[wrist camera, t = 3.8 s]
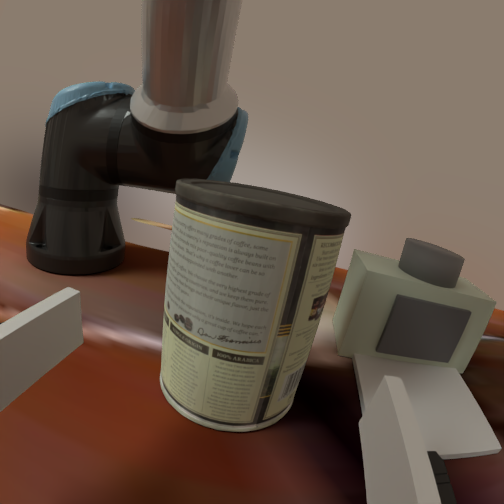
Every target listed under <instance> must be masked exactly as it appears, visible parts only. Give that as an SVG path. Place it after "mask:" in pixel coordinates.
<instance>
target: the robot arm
mask: <svg viewBox="0 0 504 504" xmlns="http://www.w3.org/2000/svg"><path fill="white" fill-rule="evenodd" d="M241 4H242V0H142V18H141V34H142V35H141V41H142V74H143V75H142V76H143V84H142V85H141V86H139V87H138V88H137V89H136V91H135V90H134V88H132V87H131V86H129V85H126V84H122V83H116V82H111V83H105V82H87V83H80V84H76V85H72V86H69V87H67V88H64V89H62V90H61V91H60V92H59V93H58V94H57V95H56V96H55V97H54V99H53V101H52V104H51V108H50V112H49V116H48V118H47V120H46V130H45V137H44V144H43V152H42V160H41V170H40V181H39V197H38V203H37V206H36V209H35V212H34V215H33V218H32V222H31V225H30V229H29V232H28V236H27V240H26V253H27V259H28V261H29V262H30V263H31V264H32V265H34V266H35V267H37V268H40V269H42V270H45V271H49V272H54V273H60V274H90V273H97V272H102V271H106V270H109V269H111V268H114V267H116V266H118V265H119V264H120V263H122V261H123V260H124V255H125V239H124V235H123V231H122V226H121V222H120V217H119V212H118V207H117V196H118V188H119V185H123V186H130V187H136V188H143V189H149V190H155V191H161V192H167V193H173V194H176V192H175V188H176V181H177V180H180V179H205V180H215V181H224V182H230V180H231V178H232V175H233V172H234V169H235V166H236V164H237V160H238V155H239V152H240V150H241V147H242V144H243V140H244V137H245V133H246V128H247V123H248V113H247V112H246V111H244V110H242V109H241V108H239V107H238V97H237V94H236V92H235V90H234V89H233V88H232V87H231V86H230V85H229V84H228V83H227V79H228V74H229V68H230V62H231V57H232V51H233V45H234V40H235V35H236V29H237V24H238V19H239V14H240V9H241ZM82 343H84V341H83V331H82V319H81V302H80V292H79V291H77V290H74V289H72V288H70V287H67V288H65V289H63V290H61V291H59V292H58V293H56V294H54V295H52V296H50V297H48V298H46V299H45V300H43V301H41V302H39V303H37V304H36V305H34V306H32V307H30V308H28V309H27V310H25V311H23V312H21V313H19V314H18V315H16V316H14V317H12V318H11V319H9V320H7V321H5V322H3V323H0V412H1V411H2V410H3V409H4V408H5V407H7V406H8V405H9V404H10V403H11V402H12V401H14V400H15V399H16V398H17V397H18V396H19V395H21V394H22V393H23V392H24V391H25V390H26V389H28V388H29V387H30V386H31V385H32V384H34V383H35V382H36V381H37V380H38V379H40V378H41V377H42V376H43V375H44V374H46V373H47V372H48V371H49V370H50V369H52V368H53V367H54V366H55V365H57V364H58V363H59V362H60V361H61V360H63V359H64V358H65V357H66V356H68V355H69V354H70V353H71V352H73V351H74V350H75V349H76V348H77V347H79V346H80V345H81V344H82ZM359 430H360V437H361V445H362V454H363V463H364V473H365V483H366V495H367V504H457V503H456V499H455V496H454V492H453V489H452V485H451V484H450V479H449V476H448V475H447V473H448V472H447V469H446V466H445V463H444V461H443V459H442V458H441V457H440V456H439V454H438V453H437V452H436V451H427V450H426V447H425V444H424V441H423V438H422V435H421V432H420V429H419V426H418V423H417V420H416V417H415V414H414V411H413V408H412V405H411V403H410V400H409V397H408V394H407V392H406V389H405V386H404V384H403V381H402V379H401V378H400V377H393V376H386V375H385V376H384V378H383V380H382V382H381V383H380V385H379V387H378V389H377V391H376V393H375V395H374V397H373V398H372V400H371V402H370V404H369V406H368V407H367V409H366V411H365V413H364V414H363V416H362V418H361V420H360V421H359Z"/></svg>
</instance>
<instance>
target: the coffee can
mask: <svg viewBox="0 0 504 504" xmlns="http://www.w3.org/2000/svg"><path fill="white" fill-rule="evenodd" d="M175 192H176V203H175V210H174V218H173V226H172V234H171V242H170V250H169V259H168V269H167V279H166V291H165V303H164V320H163V338H162V364H161V373H160V385H161V388H162V391H163V393H164V395H165V397H166V399H167V401H168V402H169V403H170V404H171V405H172V406H173V407H174V408H175V409H176V410H177V411H178V412H179V413H180V414H182V415H183V416H185V417H186V418H188V419H190V420H191V421H193V422H195V423H198V424H200V425H203V426H205V427H209V428H212V429H216V430H221V431H232V432H247V431H253V430H258V429H262V428H265V427H267V426H270V425H272V424H274V423H275V422H277V421H278V420H280V419H281V418H282V417H283V416H284V415H285V414H286V413H287V412H288V411H289V409H290V407H291V405H292V403H293V400H294V395H295V392H296V389H297V386H298V383H299V381H300V378H301V375H302V373H303V370H304V367H305V364H306V361H307V358H308V355H309V352H310V349H311V346H312V343H313V340H314V337H315V334H316V331H317V328H318V325H319V321H320V318H321V315H322V311H323V308H324V305H325V302H326V298H327V295H328V291H329V288H330V284H331V281H332V277H333V274H334V270H335V266H336V262H337V258H338V255H339V250H340V247H341V243H342V239H343V235H344V231H345V228H346V227H347V226H348V224H349V221H350V218H351V214H350V213H349V212H348V211H346V210H345V209H342V208H340V207H337V206H334V205H331V204H328V203H325V202H322V201H318V200H314V199H310V198H307V197H303V196H298V195H295V194H290V193H286V192H281V191H277V190H272V189H267V188H262V187H256V186H250V185H244V184H239V183H231V182H224V181H215V180H205V179H180V180H177V181H176V188H175Z"/></svg>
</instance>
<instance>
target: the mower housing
mask: <svg viewBox="0 0 504 504" xmlns="http://www.w3.org/2000/svg"><path fill="white" fill-rule="evenodd" d="M463 263H464V258H463V257H461V256H460V255H458V254H456V253H454V252H451V251H449V250H447V249H444V248H442V247H439V246H436V245H433V244H430V243H427V242H423V241H420V240H417V239H412V238H407V239H406V241H405V245H404V248H403V251H402V255H401V258H400V261H399V260H395V259H391V258H387V257H383V256H379V255H375V254H371V253H368V252H364V251H360V250H356V249H354V252H353V256H352V259H351V263H350V266H349V269H348V273H347V276H346V280H345V283H344V286H343V289H342V293H341V296H340V299H339V302H338V305H337V308H336V311H335V314H334V317H333V325H334V331H335V338H336V345H337V352H338V355H339V356H344V357H350V358H352V361H353V366H354V371H355V376H356V381H357V387H358V392H359V398H360V404H361V409H362V416H363V414H364V413H365V411H366V409H367V407H368V406H369V404H370V402H371V400H372V398H373V397H374V395H375V393H376V391H377V389H378V387H379V385H380V383H381V382H382V380H383V378H384V376H385V375H386V376H393V377H400V378H401V379H402V381H403V384H404V386H405V389H406V392H407V394H408V397H409V400H410V403H411V405H412V408H413V411H414V414H415V417H416V420H417V423H418V426H419V429H420V432H421V435H422V438H423V441H424V444H425V447H426V450H427V451H436V452H437V453H438V454H439V456H440V457H441V458H442V459H456V458H466V457H475V456H482V455H489V454H495V453H498V452H499V451H500V450H501V449H502V448H501V446H500V444H499V442H498V440H497V438H496V436H495V434H494V432H493V430H492V428H491V427H490V425H489V423H488V421H487V419H486V418H485V416H484V414H483V412H482V410H481V409H480V407H479V405H478V404H477V402H476V400H475V398H474V397H473V395H472V393H471V392H470V390H469V388H468V387H467V385H466V384H465V382H464V380H463V379H462V377H461V376H460V374H459V373H462V374H463V372H464V370H465V369H466V367H467V365H468V363H469V361H470V359H471V357H472V355H473V354H474V352H475V350H476V348H477V346H478V343H479V341H480V339H481V337H482V335H483V333H484V331H485V329H486V326H487V324H488V322H489V319H490V317H491V315H492V312H493V310H494V307H495V305H496V301H494V300H493V299H492V298H490V297H489V296H488V295H487V294H485V293H484V292H483V291H481V290H480V289H479V288H478V287H476V286H475V285H474V284H472V283H471V282H470V281H468V280H467V279H465V278H461V277H459V275H460V272H461V269H462V266H463Z"/></svg>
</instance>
